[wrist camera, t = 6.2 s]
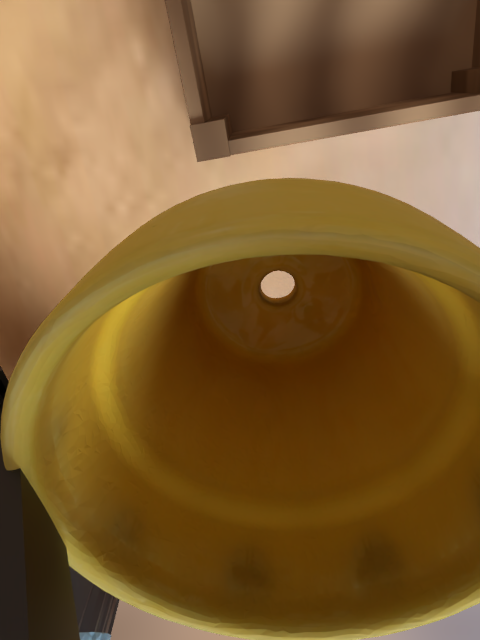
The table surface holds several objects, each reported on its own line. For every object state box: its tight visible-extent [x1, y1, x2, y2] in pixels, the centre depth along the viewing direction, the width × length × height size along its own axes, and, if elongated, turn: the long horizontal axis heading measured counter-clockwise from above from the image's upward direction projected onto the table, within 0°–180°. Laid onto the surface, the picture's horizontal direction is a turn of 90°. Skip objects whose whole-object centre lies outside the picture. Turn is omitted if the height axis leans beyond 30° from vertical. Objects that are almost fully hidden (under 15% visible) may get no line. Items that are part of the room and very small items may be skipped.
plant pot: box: [0, 178, 480, 640], centre depth 12 cm, size 10×10×10 cm
